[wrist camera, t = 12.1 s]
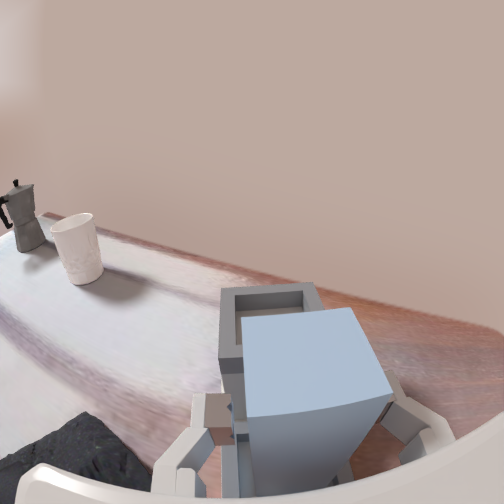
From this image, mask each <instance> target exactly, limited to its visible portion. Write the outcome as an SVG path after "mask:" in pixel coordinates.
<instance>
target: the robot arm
mask: <svg viewBox="0 0 504 504" xmlns="http://www.w3.org/2000/svg"><path fill="white" fill-rule="evenodd" d="M384 374H385V376H386V378H387V380H388V382H389V384H390V386H391V389H392V391H393V394H392V396H391V397H390V399H389V401H388V403H387V404H386V406H385V408H384V409H383V411H382V412H381V414H380V416H379V417H378V419H377V420H376V422H375V423H374V424H376V423H380V424H381V425H382V426H383V427H384V428H386V429H387V430H388V431H389V432H390V433H391V434H393V435H394V436H395V437H396V438H397V439H399V440H400V441H401V442H402V443H403V444H405V445H406V447H405V448H404V449H403V450H402V451H401V452H400V453H399V455H398V456H399V459H400V462H401V465H402V466H399V467H396V468H394V469H391V470H388V471H385V472H382V473H379V474H376V475H373V476H370V477H367V478H363V479H360V480H356V481H353V482H349V483H345V484H341V485H336V486H332V487H327V488H323V489H317V490H312V491H306V492H300V493H293V494H285V495H277V496H266V497H251V498H206V485H205V484H204V483H203V481H202V480H201V479H200V477H199V476H198V475H197V473H198V471H199V470H200V468H201V467H202V465H203V464H204V463H205V461H206V460H207V458H208V457H209V455H210V454H211V452H212V451H213V449H214V448H215V446H225V445H235V429H234V425H233V424H234V423H235V417H234V406H233V403H232V394H231V393H217V394H207V393H194V395H193V400H192V412H191V424H190V428H186V429H185V430H184V431H183V432H182V434H181V435H180V436H179V437H178V438H177V439H176V440H175V441H174V443H173V444H172V445H171V446H170V447H169V448H168V449H167V450H166V452H165V453H164V454H163V455H162V456H161V457H160V458H159V459H158V460H157V461H156V463H155V464H154V468H153V476H152V485H151V492H145V491H139V490H134V489H129V488H124V487H119V486H115V485H111V484H107V483H103V482H99V481H96V480H92V479H89V478H85V477H82V476H79V475H76V474H73V473H70V472H67V471H65V470H62V469H59V468H57V467H54V466H51V465H49V464H45V463H40V464H38V465H36V466H35V467H33V468H32V469H30V470H29V471H28V472H26V473H25V474H24V475H23V476H22V477H21V478H20V481H19V484H18V488H17V493H16V498H15V504H504V411H502V412H501V413H500V414H498V415H497V416H495V417H494V418H492V419H491V420H489V421H488V422H486V423H485V424H483V425H482V426H480V427H478V428H477V429H475V430H473V431H472V432H470V433H468V434H467V435H465V436H463V437H461V438H460V439H458V440H456V439H455V437H454V435H453V433H452V431H451V429H450V427H449V425H448V423H447V421H446V419H445V418H443V417H441V416H440V415H438V414H436V413H435V412H433V411H432V410H430V409H428V408H427V407H425V406H423V405H422V404H420V403H419V402H417V401H415V400H414V399H412V398H411V397H406V395H405V393H404V391H403V389H402V387H401V385H400V383H399V381H398V379H397V377H396V375H395V374H394V372H393V371H392V370H388V371H385V372H384Z"/></svg>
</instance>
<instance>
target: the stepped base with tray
mask: <svg viewBox="0 0 504 504" xmlns="http://www.w3.org/2000/svg"><path fill="white" fill-rule="evenodd" d="M322 310H325V309H324V306H323V304H322V302H321V300H320V297H319V295H318V293H317V290H316V288H315V286H314V284H313V282H306V283H293V284H280V285H265V286H250V287H233V288H221V301H220V323H219V349H218V360H219V365H220V371H221V393H231V394H232V403H233V406H234V417H235V423H234V424H233V425H234V429H235V445H225V446H221V478H222V498H251V497H256V491H255V483H254V475H253V467H252V458H251V450H250V441H249V432H248V423H247V411H246V395H245V378H244V361H243V343H242V324H241V317H253V316H267V315H280V314H292V313H302V312H312V311H322ZM353 481H355V480H354V476H353V473H352V469H351V465H350V462H349V460H348V461H347V462H346V464H345V465H344V466H343V467H342V469H341V470H340V471H339V472H338V473H337V475H336V476H335V477H334V478H333V479H332V480H331V482H330V483H329V484H328V485H327V486H326V487H325V488H327V487H332V486H336V485H341V484H345V483H349V482H353Z"/></svg>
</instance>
